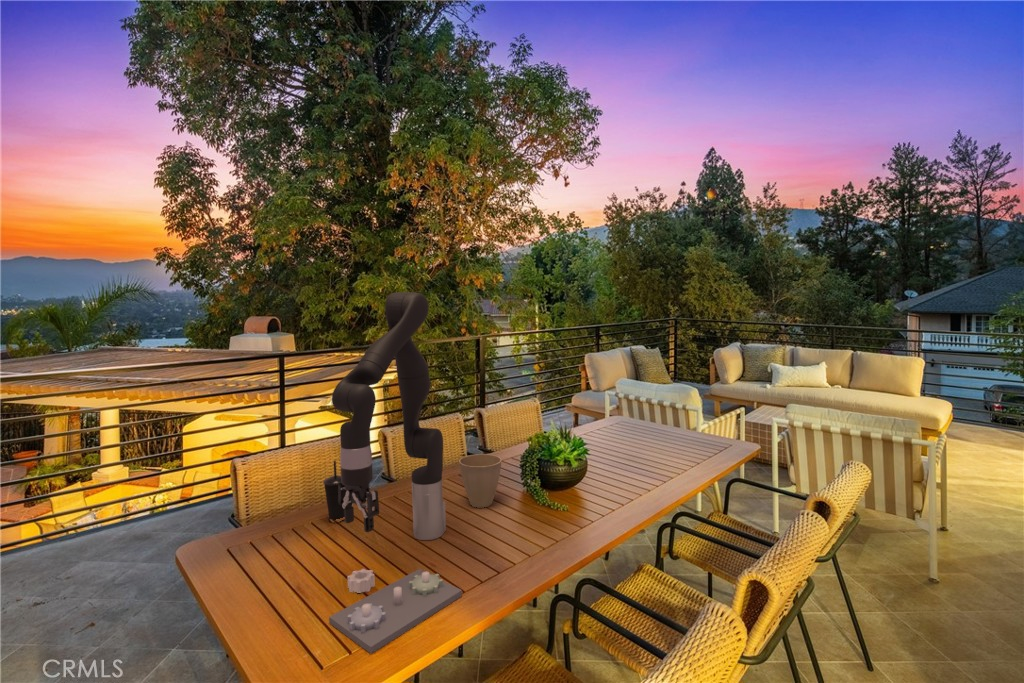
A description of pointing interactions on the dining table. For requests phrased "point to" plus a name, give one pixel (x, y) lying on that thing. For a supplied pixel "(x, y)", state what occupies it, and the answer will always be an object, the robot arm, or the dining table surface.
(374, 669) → the dining table surface
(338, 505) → the drinking cup
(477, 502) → the plant pot
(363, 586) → the gear
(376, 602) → the gear board
